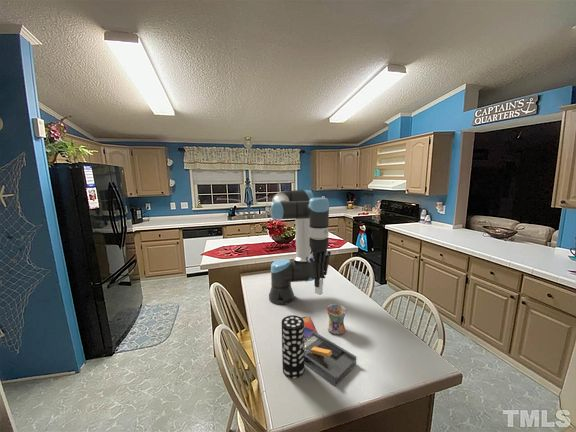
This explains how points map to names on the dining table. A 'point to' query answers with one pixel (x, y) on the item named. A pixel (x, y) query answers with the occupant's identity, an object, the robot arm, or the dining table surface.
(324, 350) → the orange rectangular bar
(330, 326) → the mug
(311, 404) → the dining table surface
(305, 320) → the smartphone
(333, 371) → the dark grey tray
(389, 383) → the dining table surface
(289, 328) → the spotted tube
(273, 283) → the robot arm
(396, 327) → the dining table surface
